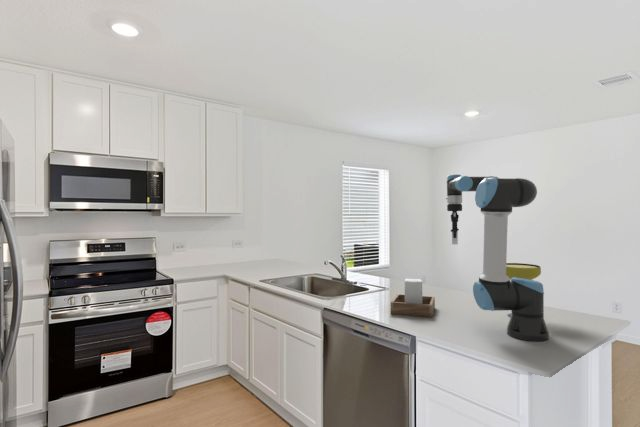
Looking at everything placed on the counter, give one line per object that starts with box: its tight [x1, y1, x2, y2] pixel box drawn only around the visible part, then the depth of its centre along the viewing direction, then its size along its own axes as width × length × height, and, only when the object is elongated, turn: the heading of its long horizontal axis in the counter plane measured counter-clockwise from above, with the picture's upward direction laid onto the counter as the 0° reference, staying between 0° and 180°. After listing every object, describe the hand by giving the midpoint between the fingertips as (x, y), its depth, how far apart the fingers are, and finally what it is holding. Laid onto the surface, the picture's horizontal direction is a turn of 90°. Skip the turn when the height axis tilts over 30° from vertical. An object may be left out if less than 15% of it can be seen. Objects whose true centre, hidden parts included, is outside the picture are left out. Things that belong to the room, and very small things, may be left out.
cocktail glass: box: [506, 262, 542, 319], centre depth 181 cm, size 18×18×25 cm
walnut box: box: [390, 293, 436, 319], centre depth 193 cm, size 20×20×6 cm
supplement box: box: [404, 278, 423, 304], centre depth 194 cm, size 9×9×15 cm
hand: (454, 243), depth 199 cm, fingers open, 13 cm apart
